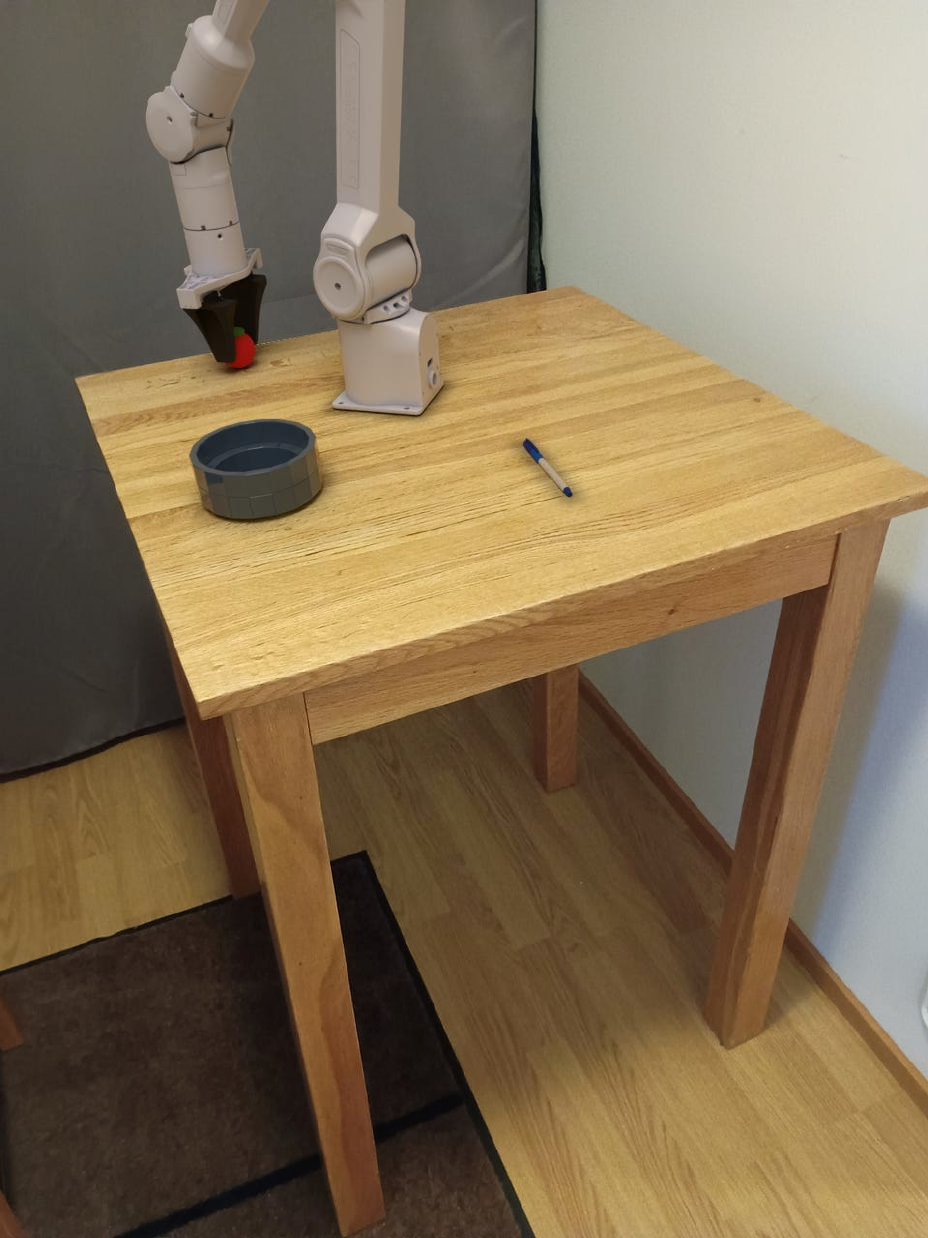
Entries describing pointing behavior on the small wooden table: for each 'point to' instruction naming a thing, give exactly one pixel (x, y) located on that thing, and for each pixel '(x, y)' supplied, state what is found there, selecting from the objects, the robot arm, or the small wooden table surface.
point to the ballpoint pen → (546, 466)
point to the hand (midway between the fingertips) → (237, 352)
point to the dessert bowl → (257, 468)
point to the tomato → (242, 349)
